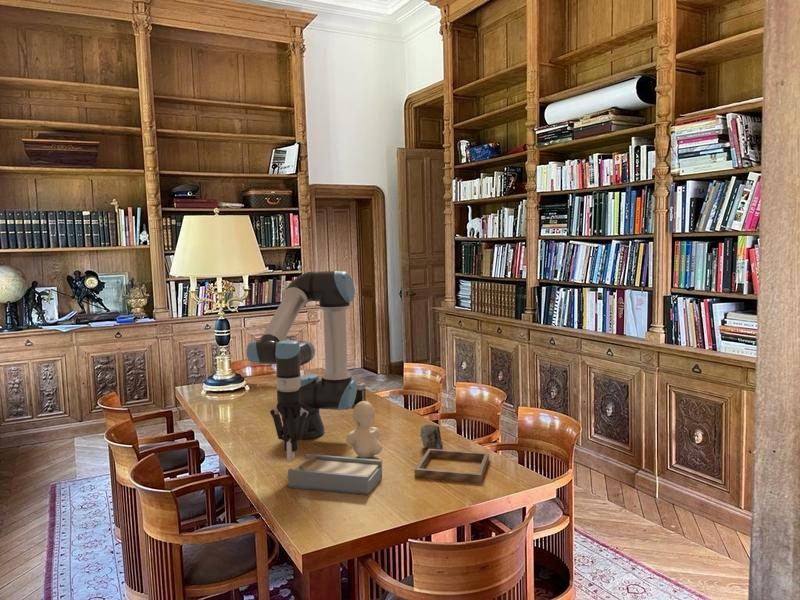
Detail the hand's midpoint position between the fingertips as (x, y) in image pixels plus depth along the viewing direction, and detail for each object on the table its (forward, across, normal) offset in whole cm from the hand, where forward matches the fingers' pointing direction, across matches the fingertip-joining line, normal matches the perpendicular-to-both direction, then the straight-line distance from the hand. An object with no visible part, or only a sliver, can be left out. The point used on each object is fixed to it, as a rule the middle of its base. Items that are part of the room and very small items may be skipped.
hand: (291, 460), depth 200 cm
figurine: (+6, +17, +24) cm, 30 cm away
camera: (+6, -12, +95) cm, 96 cm away
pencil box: (+6, +15, 0) cm, 16 cm away
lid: (+2, +15, 0) cm, 16 cm away
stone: (+6, +38, +38) cm, 54 cm away
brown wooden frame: (+6, +49, +20) cm, 54 cm away
